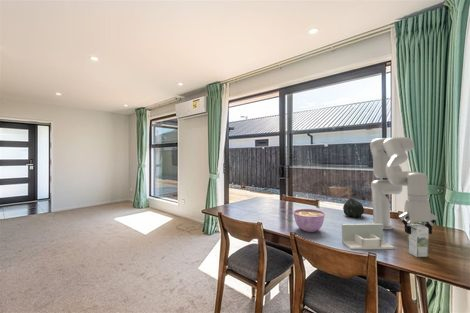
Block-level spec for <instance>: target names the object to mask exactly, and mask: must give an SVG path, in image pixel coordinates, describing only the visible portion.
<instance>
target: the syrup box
mask: <svg viewBox="0 0 470 313" xmlns="http://www.w3.org/2000/svg"><path fill="white" fill-rule="evenodd" d="M409 226H411V234H408V233H407V253H408V254H410V255H412V256H414V257H416V258H428V257H429V233H428V228H427V227H425V225H423V224H419V223H415V224H413V223H411V224H410V225H409Z"/></svg>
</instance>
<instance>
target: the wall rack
mask: <svg viewBox="0 0 470 313" xmlns="http://www.w3.org/2000/svg"><path fill="white" fill-rule="evenodd" d="M341 241H342V242H343V244H345V246H347V247H348V248H349V249H350V250H395V246H392V244H389V243H388V242H386V241H384V229H383V224H371V223H342V224H341Z"/></svg>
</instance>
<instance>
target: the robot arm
mask: <svg viewBox="0 0 470 313" xmlns="http://www.w3.org/2000/svg"><path fill="white" fill-rule="evenodd" d="M369 147H370V148H369V149H370V152H371V155H372V164H373V165H372V166H373V167H372V168H373V170H372V172H373V176H374V177H375V178H379V179H376V180H372V182H371V183H370V187H371V195H372V217H371V220H372V222H370V224H383V230H392V229H393V228H394V226H393V225H392V224H391V214H390V213H391V209H390V208H391V205H390V204H391V203H390V199H389V198H388V197H387V196H386V195H400V194H402V191H403V187H405V186H406V187H407V199H406V200H405V202H404V207H403V208H404V211H403V213H402V214H400V215H398V218H399V220H400V222H401V223H403V225H404V233H406V234H407V235H408V234H411V226H409V225H410V224H413V223H424V226H425V227H427V228H428V235H432V234H433V226H434V224H436V220H437V219H438V216H437V215H435V214H433V213H432V210H431V204H430V202H429V201H428V199H430V195H428V175H427V174H426V173H424V172H418V171H413V170H412V171H409V170H408V171H407V170H406V171H403V170H402V167H401V166H400V165H402V164H403V163H405V162H406V161H408V158H409V157H408V156H409V155H408V154H407V152H411V151H412V150H413V148H414V142H413V140H412V139H411V138H410V137H406V136H405V137H404V136H400V137H398V136H397V137H381V138H379V137H378V138H374V139H372V140H371V141H370V146H369Z"/></svg>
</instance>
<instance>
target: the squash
mask: <svg viewBox="0 0 470 313" xmlns="http://www.w3.org/2000/svg"><path fill="white" fill-rule="evenodd" d="M342 210H343V213H344V215H345V216H347V217H351V218H352V217H353V218H360V217H362V216H363V215H364V212H365V207H364V206H363V204H362V203H361V202H360V201H358V200H356V199H354V198H351V197H349V198H348V199H347V201H345V202H344V204H343V207H342Z"/></svg>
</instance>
